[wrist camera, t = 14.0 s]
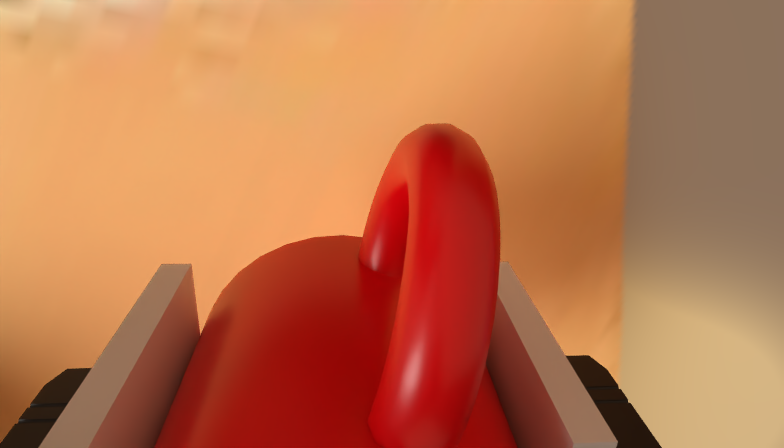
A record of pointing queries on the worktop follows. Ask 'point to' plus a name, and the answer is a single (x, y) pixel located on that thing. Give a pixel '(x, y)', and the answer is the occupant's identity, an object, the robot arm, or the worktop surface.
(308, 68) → the worktop surface
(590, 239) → the worktop surface
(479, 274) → the mug
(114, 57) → the worktop surface
